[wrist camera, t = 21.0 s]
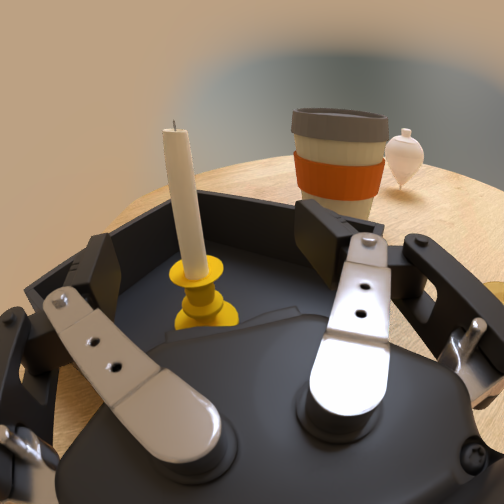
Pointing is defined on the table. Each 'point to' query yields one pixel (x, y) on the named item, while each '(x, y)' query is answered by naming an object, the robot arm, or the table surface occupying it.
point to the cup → (496, 289)
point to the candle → (192, 243)
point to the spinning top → (404, 156)
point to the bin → (217, 245)
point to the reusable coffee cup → (340, 157)
